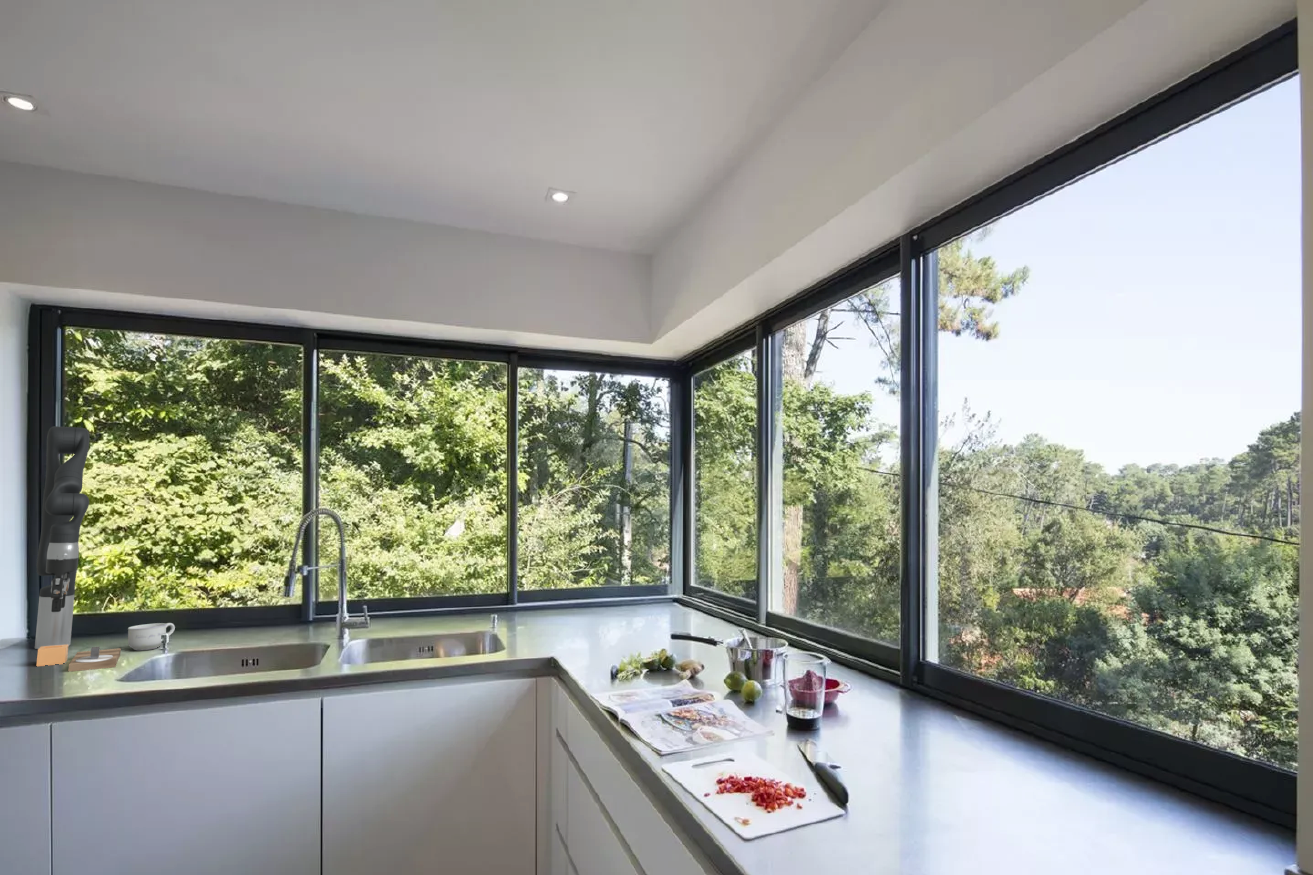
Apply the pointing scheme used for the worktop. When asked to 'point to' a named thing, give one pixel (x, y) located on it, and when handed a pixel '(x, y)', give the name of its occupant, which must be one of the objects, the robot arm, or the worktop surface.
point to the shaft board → (95, 659)
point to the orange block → (52, 655)
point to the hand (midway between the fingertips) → (58, 609)
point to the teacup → (147, 635)
